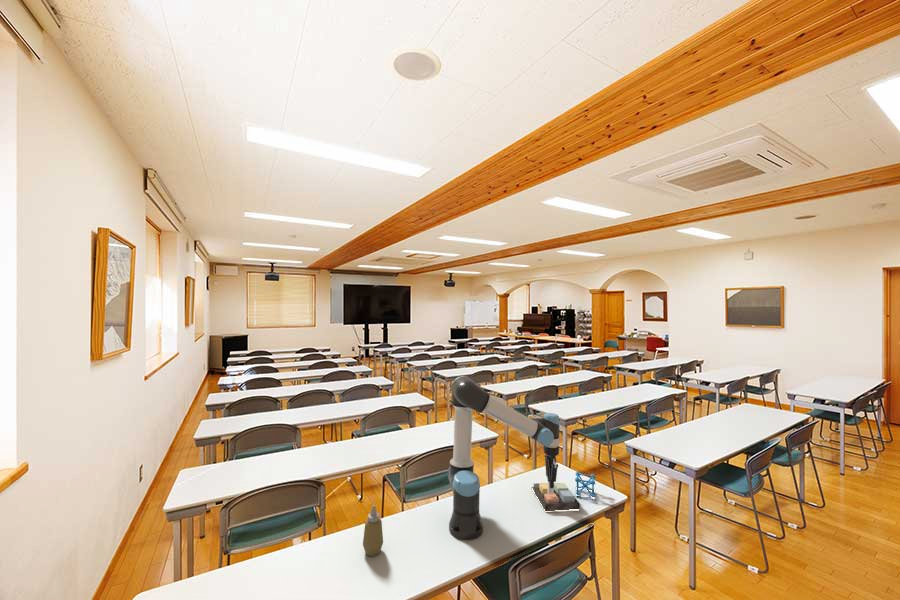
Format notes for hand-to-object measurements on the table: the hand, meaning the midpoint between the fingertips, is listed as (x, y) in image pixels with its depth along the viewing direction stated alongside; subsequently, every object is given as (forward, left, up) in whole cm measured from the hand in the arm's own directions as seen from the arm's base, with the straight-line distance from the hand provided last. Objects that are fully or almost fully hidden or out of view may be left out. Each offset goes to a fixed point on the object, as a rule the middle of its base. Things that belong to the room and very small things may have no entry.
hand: (550, 493), depth 181 cm
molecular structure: (+23, +12, -7) cm, 27 cm away
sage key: (+8, +8, -3) cm, 12 cm away
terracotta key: (0, 0, -4) cm, 4 cm away
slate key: (+8, 0, -3) cm, 9 cm away
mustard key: (0, +8, -3) cm, 9 cm away
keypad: (+4, +7, -7) cm, 11 cm away
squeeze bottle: (-83, -29, -7) cm, 89 cm away
